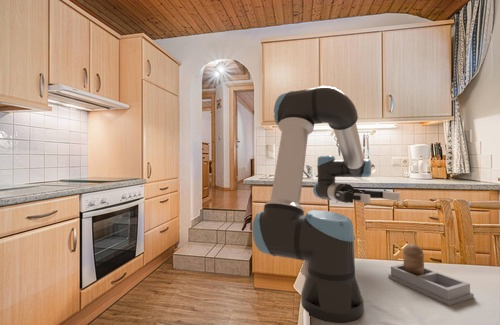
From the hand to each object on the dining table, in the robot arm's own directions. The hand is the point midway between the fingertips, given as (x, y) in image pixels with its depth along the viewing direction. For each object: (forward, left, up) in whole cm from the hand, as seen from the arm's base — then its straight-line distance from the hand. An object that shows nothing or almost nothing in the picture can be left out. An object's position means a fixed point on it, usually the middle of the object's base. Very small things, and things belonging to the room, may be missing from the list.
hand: (384, 197), depth 88 cm
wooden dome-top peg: (+5, -9, -23) cm, 25 cm away
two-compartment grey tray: (+7, -12, -24) cm, 28 cm away
